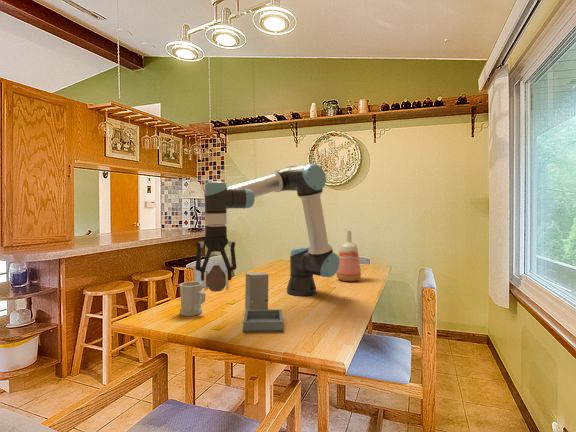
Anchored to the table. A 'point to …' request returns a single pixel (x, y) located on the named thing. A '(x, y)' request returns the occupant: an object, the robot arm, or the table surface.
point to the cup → (191, 298)
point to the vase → (216, 279)
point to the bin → (263, 321)
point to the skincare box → (256, 291)
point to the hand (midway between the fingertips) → (216, 289)
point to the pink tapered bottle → (348, 261)
